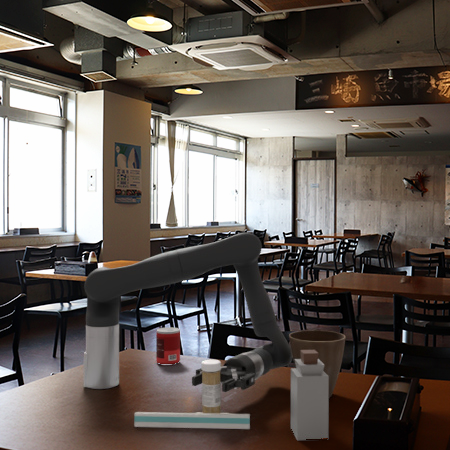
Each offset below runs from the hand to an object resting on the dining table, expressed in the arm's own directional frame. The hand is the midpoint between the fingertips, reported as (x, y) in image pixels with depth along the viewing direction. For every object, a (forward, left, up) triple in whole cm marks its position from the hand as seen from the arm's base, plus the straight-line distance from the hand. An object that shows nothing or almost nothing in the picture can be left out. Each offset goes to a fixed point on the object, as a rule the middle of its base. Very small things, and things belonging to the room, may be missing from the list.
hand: (208, 384), depth 125 cm
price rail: (-3, 0, -8) cm, 9 cm away
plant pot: (+28, +21, -9) cm, 36 cm away
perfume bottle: (+23, -6, -9) cm, 25 cm away
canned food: (-17, +52, -9) cm, 55 cm away
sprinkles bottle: (+1, +1, -8) cm, 9 cm away
